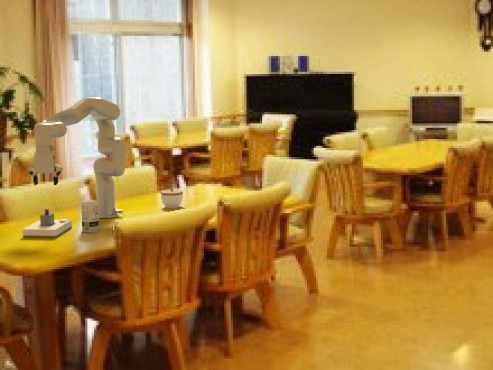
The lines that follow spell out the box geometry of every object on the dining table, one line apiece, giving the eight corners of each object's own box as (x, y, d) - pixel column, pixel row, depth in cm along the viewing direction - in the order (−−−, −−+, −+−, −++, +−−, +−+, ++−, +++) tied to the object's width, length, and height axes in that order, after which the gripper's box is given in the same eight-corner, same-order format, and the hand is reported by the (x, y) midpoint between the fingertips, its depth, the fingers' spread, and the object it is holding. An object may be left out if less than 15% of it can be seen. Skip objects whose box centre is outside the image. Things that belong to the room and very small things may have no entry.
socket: (71, 227, 360) (71, 218, 359) (55, 238, 338) (55, 228, 337) (40, 227, 361) (40, 217, 360) (22, 237, 340) (22, 227, 339)
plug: (54, 229, 352) (53, 208, 350) (51, 231, 347) (49, 210, 345) (44, 229, 352) (43, 208, 350) (40, 231, 347) (39, 210, 346)
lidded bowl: (182, 209, 405) (181, 189, 403) (159, 209, 405) (159, 189, 404) (184, 205, 418) (184, 186, 416) (162, 205, 418) (162, 186, 416)
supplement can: (83, 229, 355) (82, 199, 353) (100, 229, 356) (99, 199, 353) (81, 233, 347) (79, 202, 345) (98, 233, 348) (97, 202, 345)
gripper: (64, 148, 347) (66, 183, 350) (29, 148, 348) (31, 183, 351) (58, 150, 339) (60, 186, 342) (23, 150, 341) (25, 186, 344)
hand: (45, 184), depth 347 cm, fingers open, 9 cm apart
